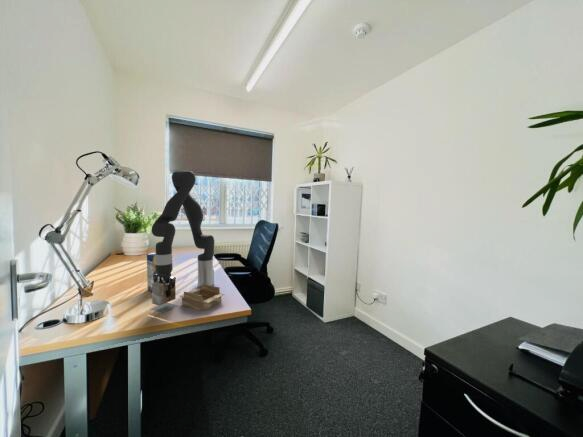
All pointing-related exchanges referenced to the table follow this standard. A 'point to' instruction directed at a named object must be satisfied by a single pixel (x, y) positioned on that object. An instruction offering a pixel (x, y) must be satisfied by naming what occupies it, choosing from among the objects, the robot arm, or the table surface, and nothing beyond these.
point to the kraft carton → (202, 297)
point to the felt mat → (164, 307)
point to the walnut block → (161, 293)
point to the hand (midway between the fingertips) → (164, 295)
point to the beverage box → (150, 269)
